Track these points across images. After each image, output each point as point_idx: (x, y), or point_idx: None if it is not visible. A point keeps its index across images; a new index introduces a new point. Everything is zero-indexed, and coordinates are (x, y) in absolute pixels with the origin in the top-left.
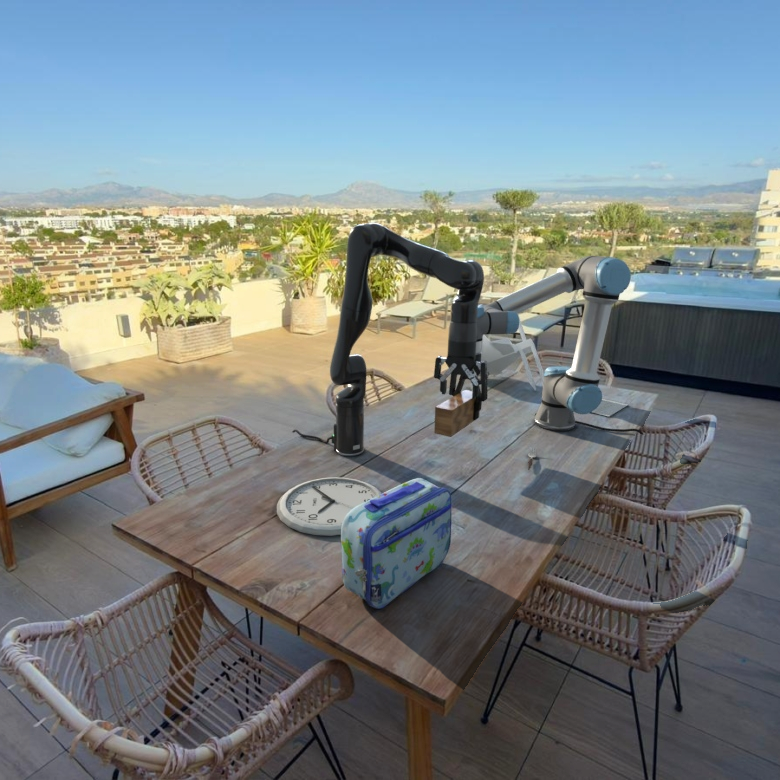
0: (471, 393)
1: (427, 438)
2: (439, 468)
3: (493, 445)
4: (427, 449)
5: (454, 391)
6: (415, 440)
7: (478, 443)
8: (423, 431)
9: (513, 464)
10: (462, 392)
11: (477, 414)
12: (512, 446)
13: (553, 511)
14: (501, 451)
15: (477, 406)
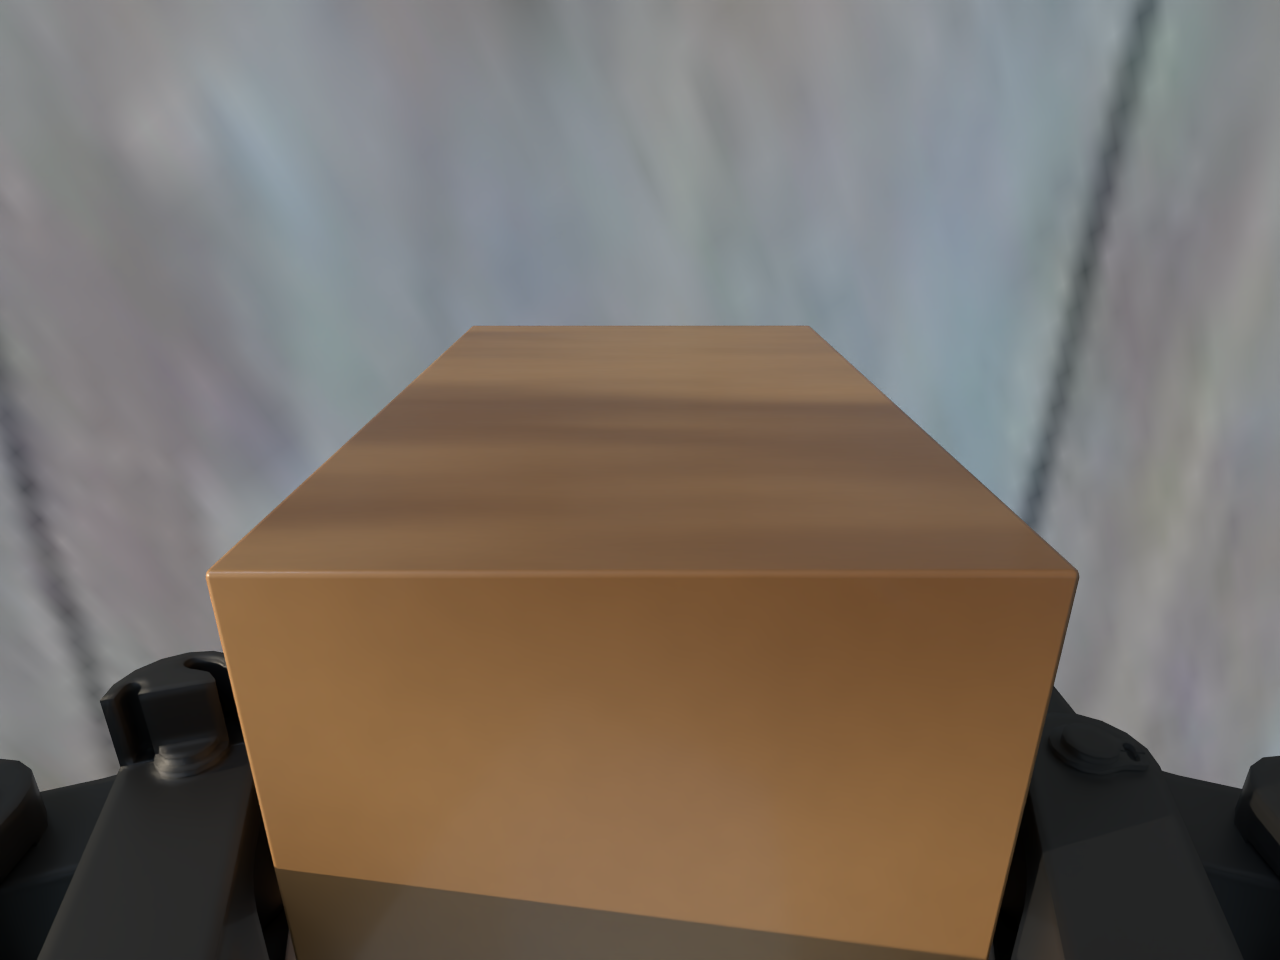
0: (729, 855)
1: (225, 493)
2: None
3: (940, 234)
4: None
5: (7, 898)
6: (172, 605)
7: (761, 285)
8: (39, 338)
9: (1229, 566)
10: (359, 922)
11: None
12: (1167, 117)
13: None
14: (1065, 346)
15: None
